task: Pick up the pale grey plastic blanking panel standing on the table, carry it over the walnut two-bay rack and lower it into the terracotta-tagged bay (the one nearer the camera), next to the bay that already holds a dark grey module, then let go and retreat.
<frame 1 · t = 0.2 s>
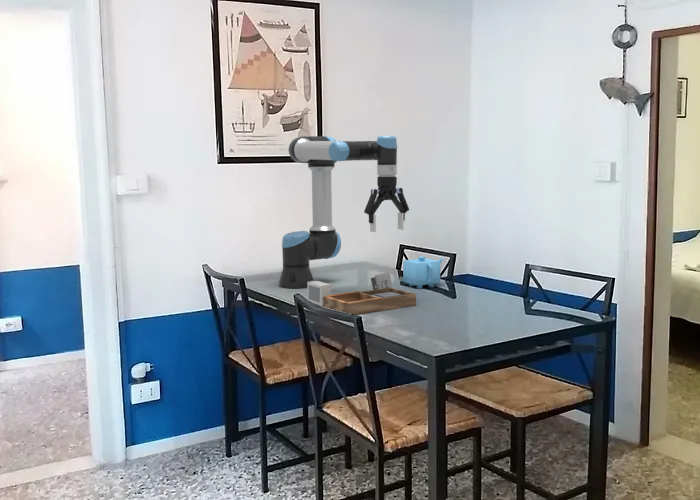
hand: (387, 230, 298), 28 cm above the table, fingers open, 13 cm apart
panel: (319, 303, 296), on the table
rack: (369, 306, 289), on the table
electrical switch: (382, 296, 311), on the table
grey module: (387, 305, 293), resting in rack
teapot: (427, 285, 332), on the table
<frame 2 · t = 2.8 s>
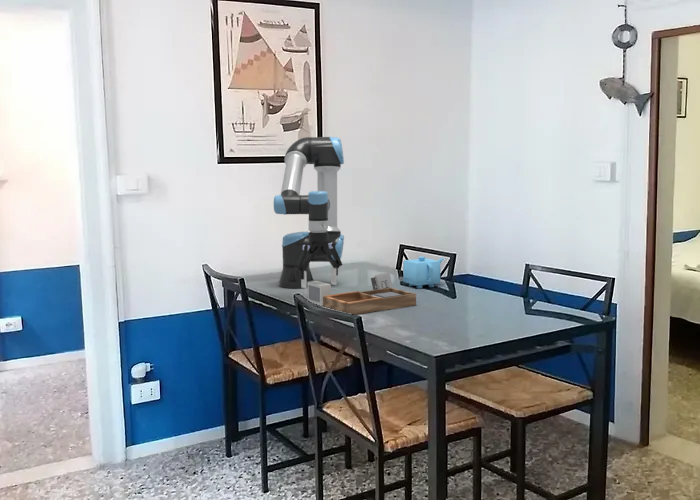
hand: (319, 286, 295), 7 cm above the table, fingers open, 13 cm apart
nothing on the table moved.
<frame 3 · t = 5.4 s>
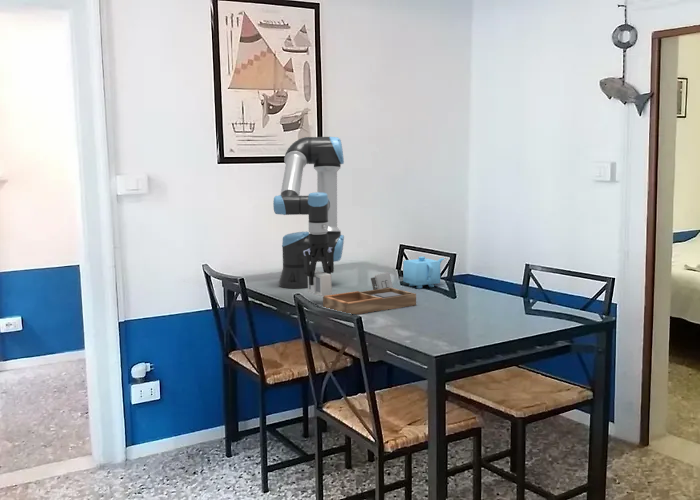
hand: (319, 292, 297), 4 cm above the table, fingers closed on panel, 5 cm apart
panel: (319, 293, 297), point 4 cm above the table, touching gripper
everything else where it was.
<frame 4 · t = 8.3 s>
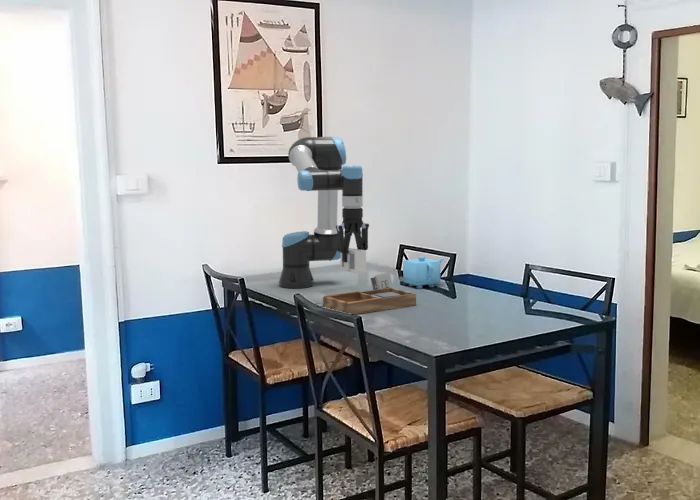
hand: (352, 270, 283), 15 cm above the table, fingers closed on panel, 5 cm apart
panel: (353, 271, 283), point 15 cm above the table, touching gripper
everything else where it was.
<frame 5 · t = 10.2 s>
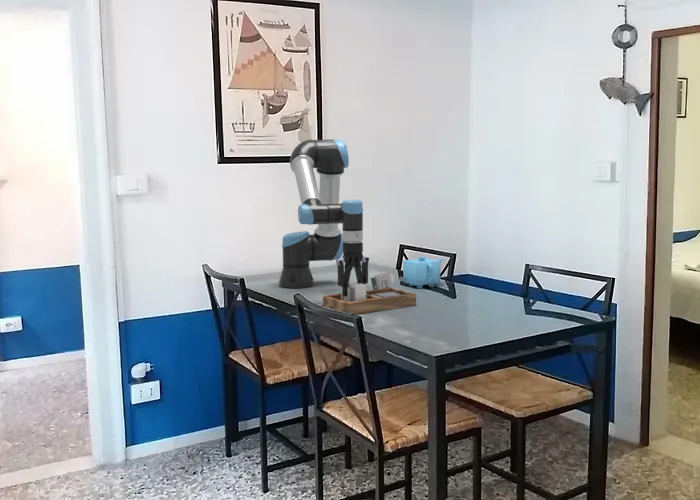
hand: (353, 303, 285), 2 cm above the table, fingers closed on panel, 5 cm apart
panel: (353, 304, 285), point 2 cm above the table, touching gripper
everything else where it was.
when the fingers open (1 cm above the table, at t = 11.4 s): panel stays where it is, resting on rack.
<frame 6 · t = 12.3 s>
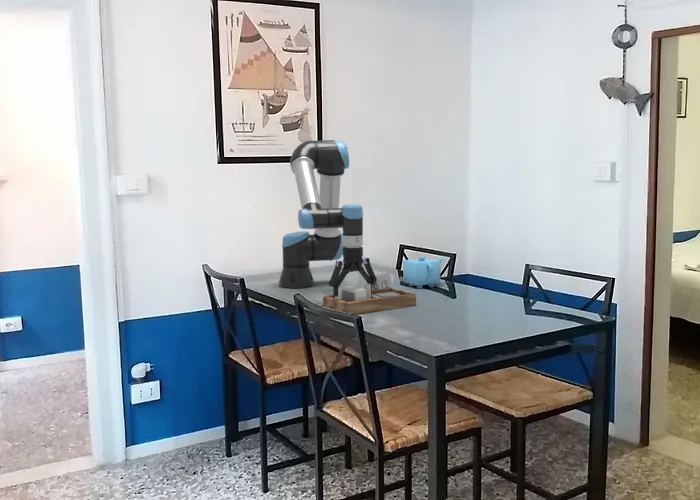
hand: (353, 302, 285), 3 cm above the table, fingers open, 13 cm apart
panel: (353, 309, 285), resting on rack
everything else where it was.
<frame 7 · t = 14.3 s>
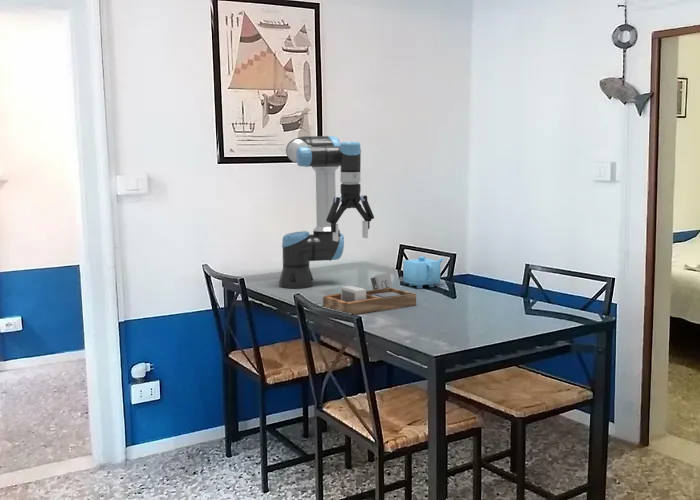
hand: (350, 239, 289), 25 cm above the table, fingers open, 13 cm apart
nothing on the table moved.
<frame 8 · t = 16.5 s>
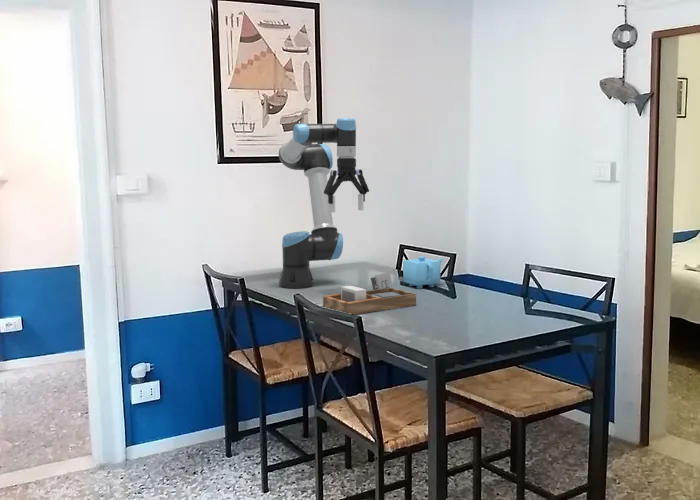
hand: (346, 211, 304), 35 cm above the table, fingers open, 13 cm apart
nothing on the table moved.
at the end: panel inside the target area on the rack (0.1 cm from its centre), point 0.1 cm above the rack's base; panel tilted 0°; the gripper is holding nothing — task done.
